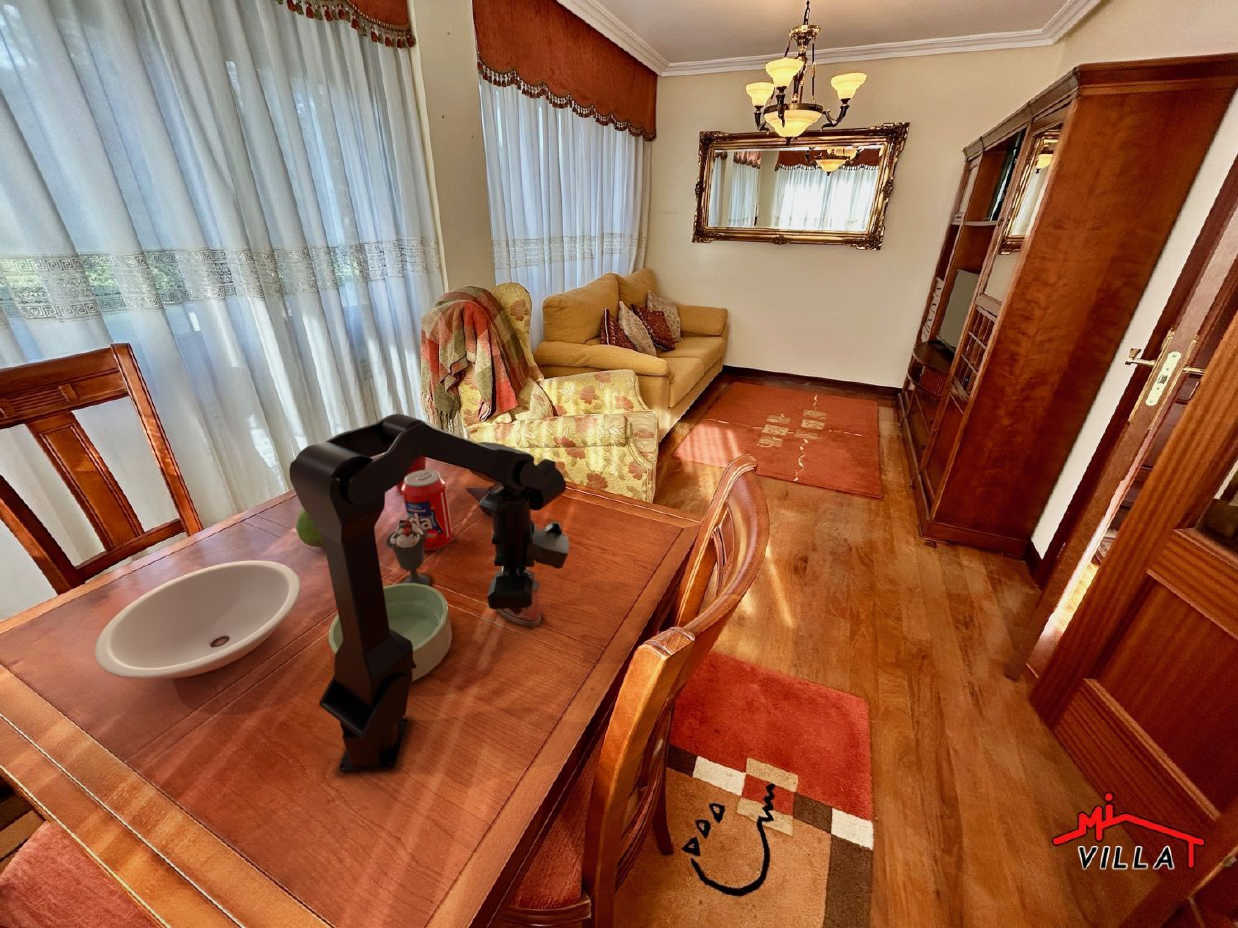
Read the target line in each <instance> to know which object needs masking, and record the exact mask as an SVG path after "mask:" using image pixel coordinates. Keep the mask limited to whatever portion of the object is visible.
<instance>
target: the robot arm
mask: <svg viewBox="0 0 1238 928" xmlns="http://www.w3.org/2000/svg"><path fill="white" fill-rule="evenodd" d="M385 452H386V453H385ZM382 453H384V454H383V455H381V454H382ZM375 456H378V457H376V458H375V459H374V458H373V457H375ZM421 456H423V457H426V459H430V460H433V461H437V462H441V463H444V464H447V465H452V466H453V467H454V466H455V467H458V468H462V469H465V470H468V471H470V473H471V474H473V475H474V476H476V477H478V478H480V479H481V480H483V481H485V482H488V483H490V484H493V485H494V484H496V485H499V486H501V488H499V489H498V490H496V491H494V492H492V491H488V493H487V495H486V496H485V497H484V498H483V499H482V500H481V502H480V503H479V502H478V507H479V509H481V508H482V509H485V510H487V511H490V512H491V513H492V514H491V521H492V522H491V523H492V536H491V545H494V550H495V553H494V559H493V565H494V567H501V566H503V568H502V574H509V576H496V577H495V576H494V577H493V578H492V579H491V580H490V581H489V587H488V592H487V605H488V608H490V609H491V610H498V609H510V610H511V611H512V612H513V613H514V614H520V613H521V609H522V608H528V607H530V606H531V605H532V599H533V584H534V581H533V580H532V579H531V578H530V577H529V574H528V573H525V569H526V570H528V568H534V567H535V562H536V563H537V564H541V565H545V566H549V567H553V568H554V569H557V570H559V569H562V568H563V567H564V564H565V562H566V560H567V557H568V555H569V552H570V539H569V537H567V533H566V532H565V533H563V527H562V523H561V522H559V521H555V520H552V521H551V522H549V523H548V524H547V525H546V526H545V527H542V529H541V530H540V529H538V527H539V526H538V525H537V524H536V523H535V522H533V519H532V515H531V511H541V510H543V508H545V507H546V506H548V505H549V504H551V503H552V502H553V501H555V500H557V498H559V497H561V496H562V495H563V494H564V493H565V491H566V490H567V481H566V480H565V477H564V475H563V473H562V472H561V471H560V470H559V469H558V468H557V467H556V461H555V460H551V459H549V458H543V459H542V460H541V461H540V462H538V463H537V464H535V457H534V455H533V454H531V453H530V452H527V451H523V450H521V449H517V448H514V447H511V446H507V445H504V444H501V443H498V442H497V443H496V442H488V441H480V442H476V441H473V440H471V439H468V438H465V437H463V436H460V435H457V434H454V433H451V432H449V431H447V430H443V429H441V428H439V427H436V426H433V425H430V424H429V423H428V422H427V421H425V420H422V419H419V418H416V417H413V416H409V415H406V414H403V413H393V414H389V415H386V416H385V417H383V418H381V419H379V420H378V421H375V422H374V423H371V424H367V425H364V426H361V427H357V428H354V429H351V430H347V431H342V432H340V433H338V434H336V435H334V436H332V437H330V438H329V439H327V440H325V441H317V442H314V443H311V444H310V445H307V446H306V447H304V448H303V449H302V450H301V451H300V452H298V454H297V456H296V457H295V459H293V460H291V462H290V464H289V480H290V482H291V485H292V488H293V489H294V491H295V493H296V496H297V498H298V500H299V502H300V505H301V506H302V509H303V508H304V509H305V511H306V512H307V513H308V515H309V516H310V518H311V519H312V520H313V522H314V523H315V524H316V526H317V527H318V529H319V530H320V532H321V534H322V538H323V543H324V552H325V556H326V561H327V566H328V571H329V577H330V581H331V586H332V591H333V596H334V600H335V606H336V610H337V615H339V620H340V625H341V630H342V635H343V641H342V643H341V645H340V647H339V648H338V650H337V652H336V654H335V661H334V673H333V675H332V677H331V680H330V681H329V683H328V685H327V687H326V689H325V690H324V692H323V695H322V696H321V698H320V701H319V702H318V706H320V707H321V708H322V709H323V710H325V711H326V712H327V713H328V714H330V715H331V716H332V717H334V718H335V719H336V720H338V721H339V726H340V729H341V732H342V736H341V738H342V741H343V743H344V747H345V751H344V754H343V756H342V759H341V760H340V763H339V766H338V771H339V773H343V774H344V773H354V772H357V773H358V772H368V771H383V770H393V769H394V768H395V767H396V765H397V762H398V760H399V756H400V753H401V749H402V747H403V743H404V741H405V736H406V734H407V730H408V727H409V724H410V721H409V719H408V718H407V717H405V716H406V713H407V708H408V701H409V694H410V688H411V685H412V683H413V682H412V677H413V672H412V669H415V668H416V667H417V665H416V664H415V663H414V661H413V646H412V642H411V641H410V640H409V639H407V638H405V637H404V636H402V635H400V634H399V633H397V632H395V631H394V630H392V629H390V627H389V621H388V614H387V608H386V602H385V595H384V589H383V587H384V584H383V583H384V582H383V578H382V570H381V564H380V558H379V551H378V545H377V538H376V533H375V531H376V530H375V527H376V525H377V523H378V521H379V519H380V517H381V516H382V514H383V512H384V509H385V506H386V493H387V492H388V491H390V490H391V489H392V488H394V487H396V485H397V484H399V483H400V482H401V481H402V480H403V479H404V478H405V476H406V474H407V473H408V471H409V469H410V468H411V466H412V464H413V462H414V461H415V460H417V459H418V458H420V457H421ZM482 509H481V510H482ZM509 569H510V570H509ZM518 569H519V571H518ZM517 572H518V575H517Z"/></svg>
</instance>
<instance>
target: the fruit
mask: <svg viewBox="0 0 1238 928" xmlns="http://www.w3.org/2000/svg"><path fill="white" fill-rule="evenodd" d="M295 530H296V532H297V534H298V537H299V539H300V540H301V542H303V544H305V545H307V546H310V547H311V548H312V547H314V548H323V549H325V547H324V543H323V538H322V534H321V532H320V530H319V529H318V527H317V526H316V524H315V523H314V522H313V520H312V519H311V518H310V516H309V515H308V513H307V512H306V511H305V509H304V508H303V507H302V509H301V511H300V513H299V514H298V516H297V518H296V523H295Z"/></svg>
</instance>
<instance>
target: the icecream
mask: <svg viewBox="0 0 1238 928" xmlns="http://www.w3.org/2000/svg"><path fill="white" fill-rule="evenodd" d="M501 487H502V486H499V485H496V484H493V485H491V486H487V487H486V486H484V487H483V486H481V487H480V486H479V487H466V488H465V490H466V491H467V492H468V493H469V495H471V496H472V497H473V498H474V499H475V500H476V501H477V502H478V504H479V503H480V502H481V500H482V499H483V498H484V497H485V496H486V495H487V493H488V491H492V492H494V491H496V490H498V489H499V488H501ZM480 509H481V512H483V513H485V514H490V515H492V513H491V512H490V511H487V510H485V509H482V508H480Z"/></svg>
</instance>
